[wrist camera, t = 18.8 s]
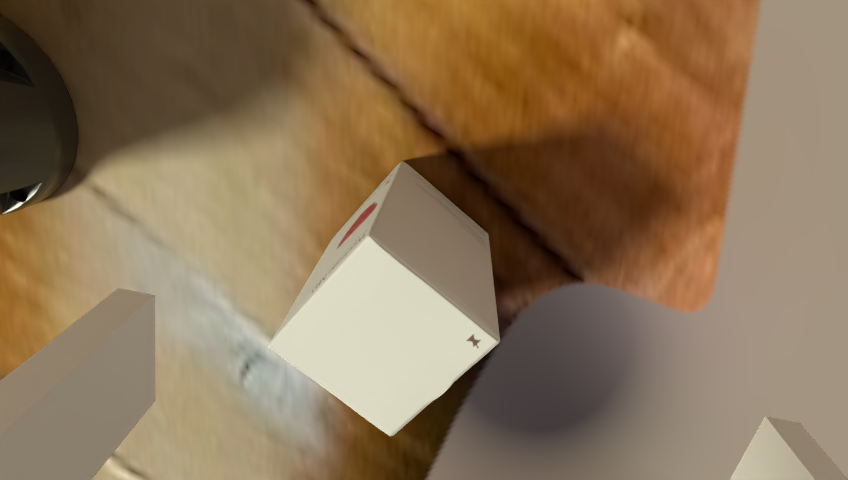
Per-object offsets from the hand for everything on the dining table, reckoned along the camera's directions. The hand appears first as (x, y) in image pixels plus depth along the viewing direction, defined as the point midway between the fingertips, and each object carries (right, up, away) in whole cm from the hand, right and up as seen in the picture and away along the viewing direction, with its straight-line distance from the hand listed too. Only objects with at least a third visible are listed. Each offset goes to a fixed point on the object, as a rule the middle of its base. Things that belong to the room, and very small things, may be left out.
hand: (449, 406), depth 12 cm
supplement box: (-2, +4, +30) cm, 30 cm away
